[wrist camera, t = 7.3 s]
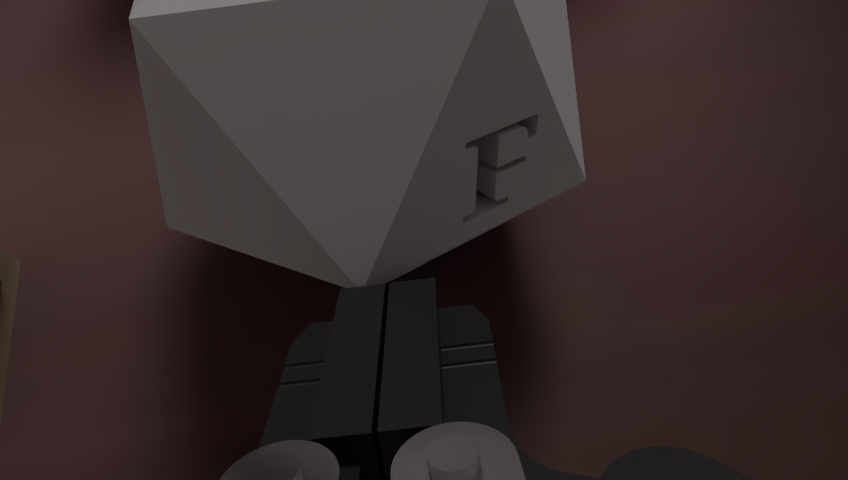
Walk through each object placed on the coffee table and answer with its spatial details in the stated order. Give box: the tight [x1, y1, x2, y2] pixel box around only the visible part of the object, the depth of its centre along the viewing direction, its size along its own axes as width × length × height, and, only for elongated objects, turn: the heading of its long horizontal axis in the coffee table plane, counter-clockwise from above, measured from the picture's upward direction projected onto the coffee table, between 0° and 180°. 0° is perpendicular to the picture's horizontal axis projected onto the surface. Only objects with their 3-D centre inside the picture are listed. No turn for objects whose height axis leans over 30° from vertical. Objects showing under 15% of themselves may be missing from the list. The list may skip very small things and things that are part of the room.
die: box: [129, 0, 586, 288], centre depth 13 cm, size 8×9×10 cm
